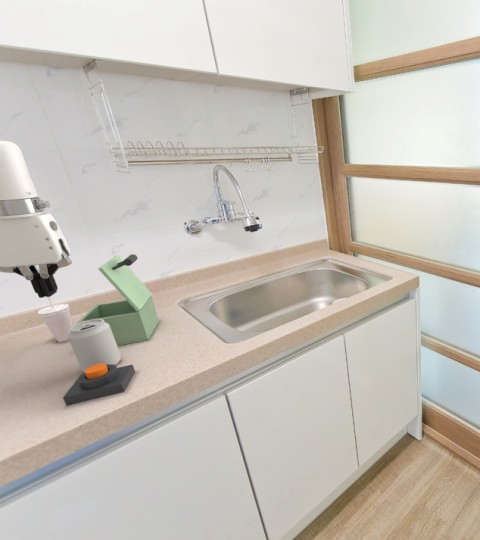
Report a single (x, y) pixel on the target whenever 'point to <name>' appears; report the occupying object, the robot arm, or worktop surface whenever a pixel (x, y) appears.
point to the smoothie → (57, 320)
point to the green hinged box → (126, 320)
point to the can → (93, 343)
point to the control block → (100, 385)
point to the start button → (96, 371)
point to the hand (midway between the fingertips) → (48, 294)
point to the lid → (126, 280)
